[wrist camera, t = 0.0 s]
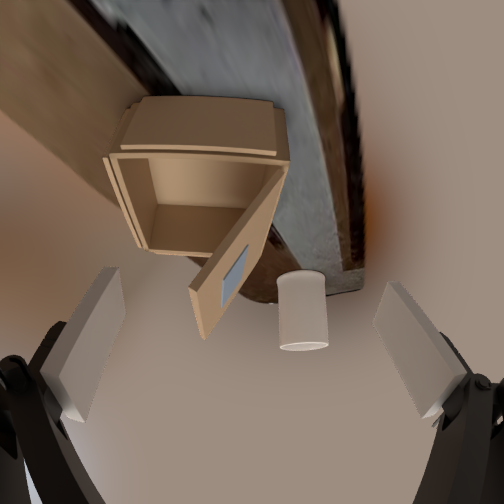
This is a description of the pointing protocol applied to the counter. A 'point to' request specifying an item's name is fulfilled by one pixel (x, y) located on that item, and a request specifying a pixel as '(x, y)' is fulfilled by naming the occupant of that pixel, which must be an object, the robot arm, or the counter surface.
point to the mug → (302, 310)
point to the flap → (233, 259)
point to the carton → (193, 168)
